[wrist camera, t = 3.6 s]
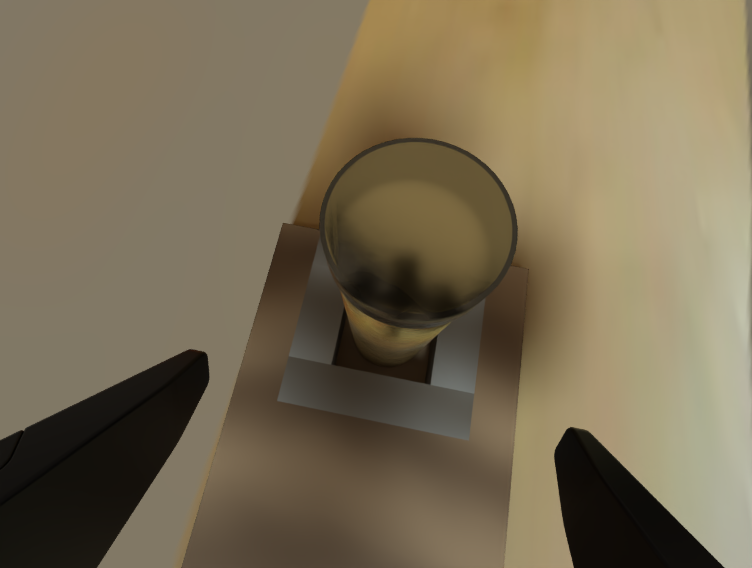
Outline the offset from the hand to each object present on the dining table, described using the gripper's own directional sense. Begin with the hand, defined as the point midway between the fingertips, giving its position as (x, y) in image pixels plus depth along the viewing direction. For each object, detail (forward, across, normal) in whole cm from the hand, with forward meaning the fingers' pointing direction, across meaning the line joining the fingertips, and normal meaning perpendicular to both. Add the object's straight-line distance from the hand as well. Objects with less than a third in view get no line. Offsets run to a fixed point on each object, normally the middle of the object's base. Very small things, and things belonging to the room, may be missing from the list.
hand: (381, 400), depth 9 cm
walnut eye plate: (+6, 0, +9) cm, 11 cm away
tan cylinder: (+9, 0, +4) cm, 10 cm away
